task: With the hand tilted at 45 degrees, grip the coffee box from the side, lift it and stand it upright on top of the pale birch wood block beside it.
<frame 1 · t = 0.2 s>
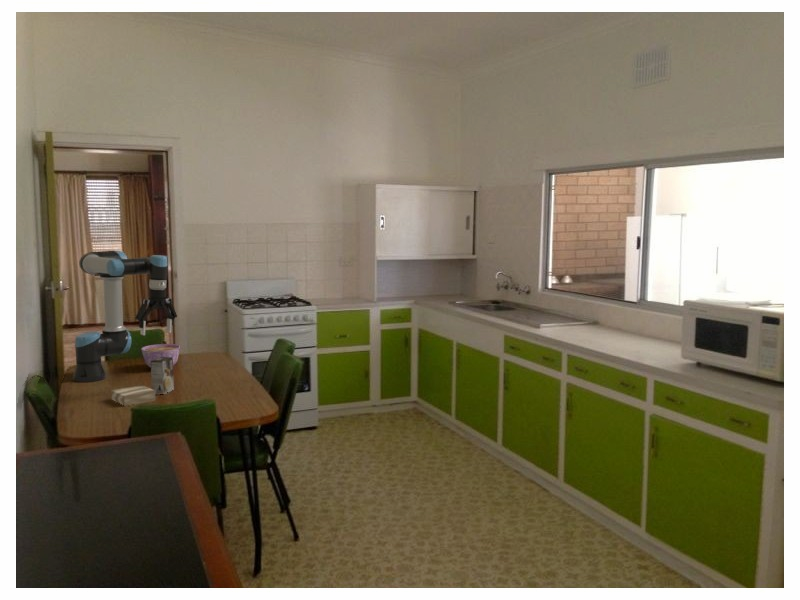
hand: (156, 333, 314), 28 cm above the table, tool pointing down, fingers open, 13 cm apart
bowl of food: (161, 368, 366), on the table
coffee box: (163, 392, 317), on the table
birch block: (133, 401, 303), on the table
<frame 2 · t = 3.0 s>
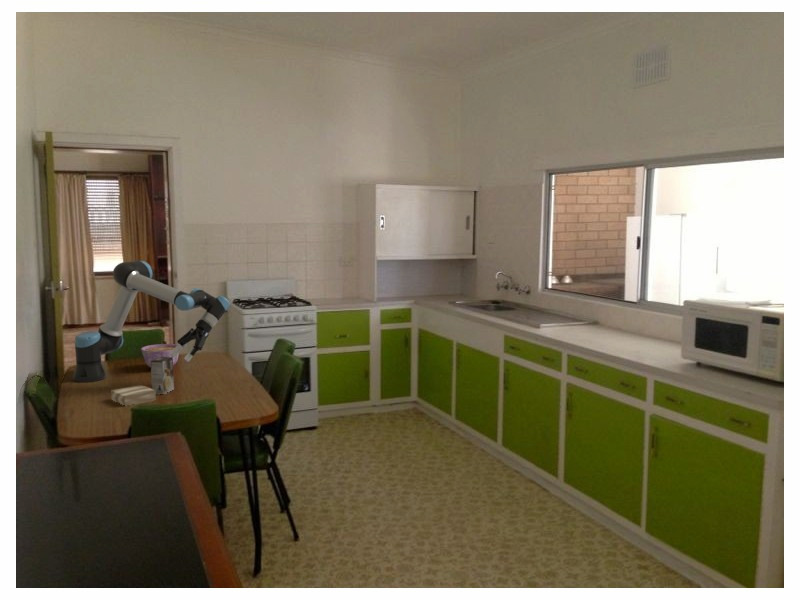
hand: (179, 358, 321), 15 cm above the table, tool tilted 45°, fingers open, 13 cm apart
nothing on the table moved.
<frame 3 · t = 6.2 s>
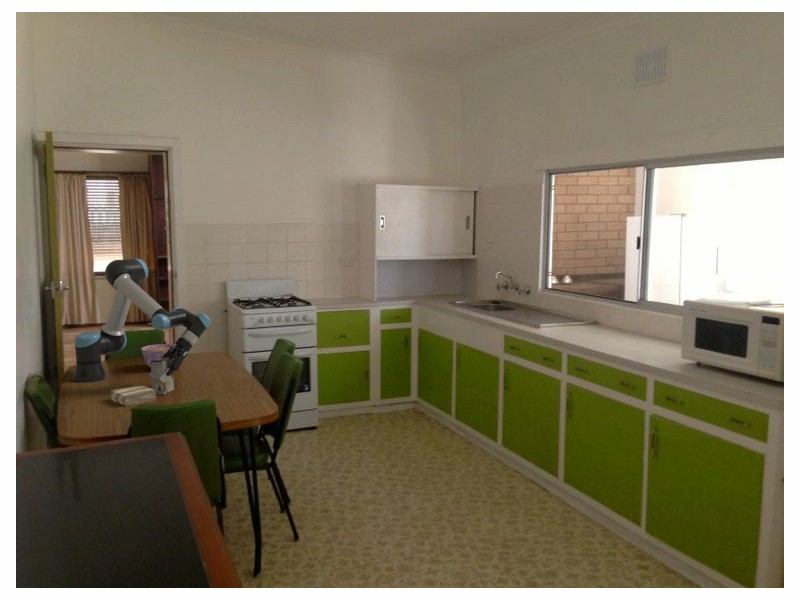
hand: (156, 378, 314), 7 cm above the table, tool tilted 45°, fingers closed on coffee box, 10 cm apart
coffee box: (163, 392, 317), on the table, touching gripper
everything else where it was.
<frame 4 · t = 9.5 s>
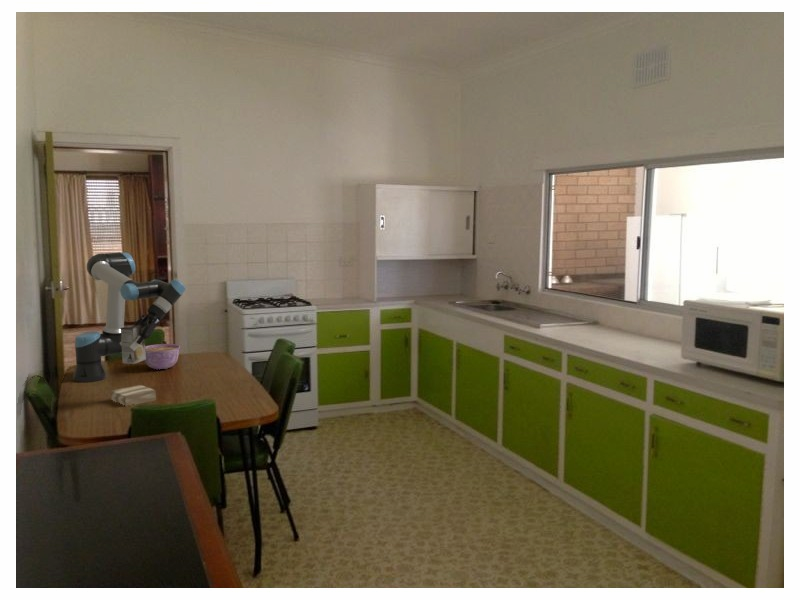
hand: (126, 347, 299), 25 cm above the table, tool tilted 45°, fingers closed on coffee box, 10 cm apart
coffee box: (134, 361, 302), point 18 cm above the table, touching gripper
everything else where it was.
when the fingers open (13 cm above the table, at t = 12.7 s): coffee box drops 2 cm, resting on birch block.
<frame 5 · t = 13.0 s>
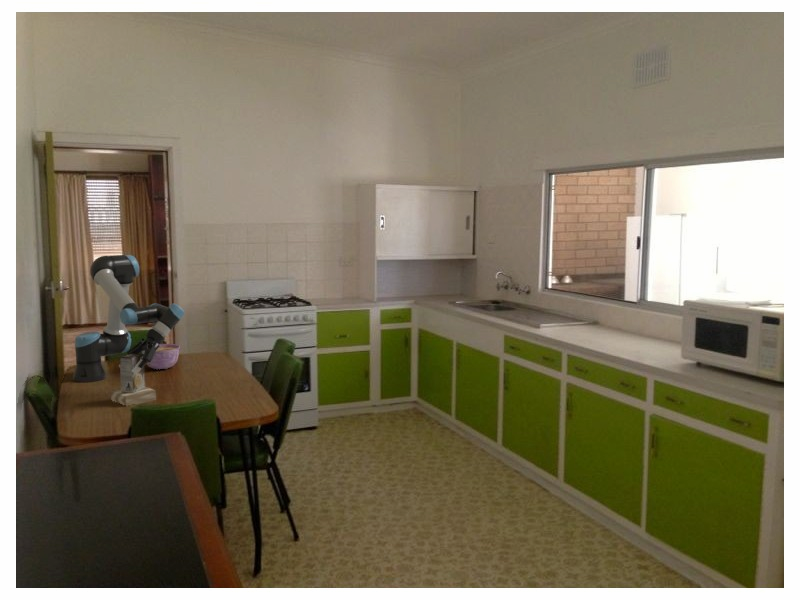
hand: (127, 370, 300), 14 cm above the table, tool tilted 45°, fingers open, 13 cm apart
coffee box: (133, 390, 303), point 4 cm above the table, touching birch block
birch block: (133, 401, 303), on the table, touching coffee box
everything else where it was.
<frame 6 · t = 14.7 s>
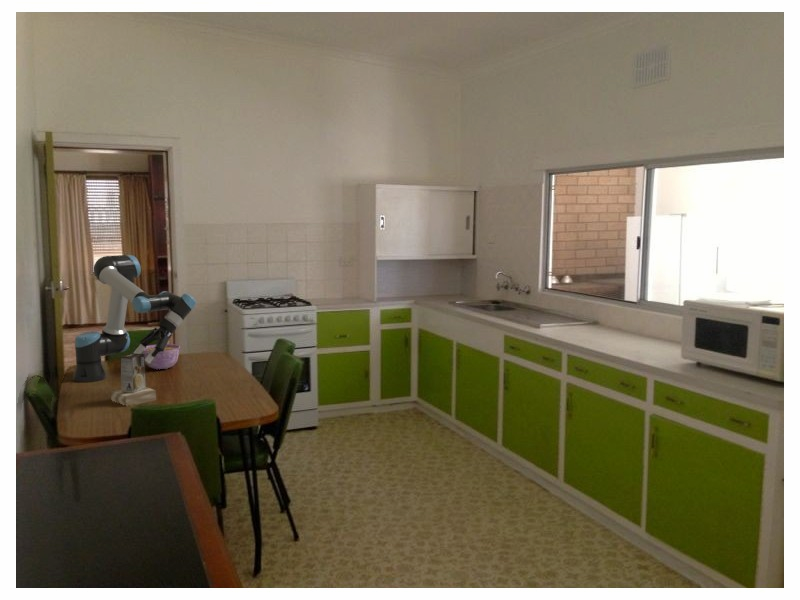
hand: (140, 359, 303), 18 cm above the table, tool tilted 45°, fingers open, 13 cm apart
coffee box: (133, 390, 303), point 4 cm above the table
birch block: (133, 401, 303), on the table
everything else where it was.
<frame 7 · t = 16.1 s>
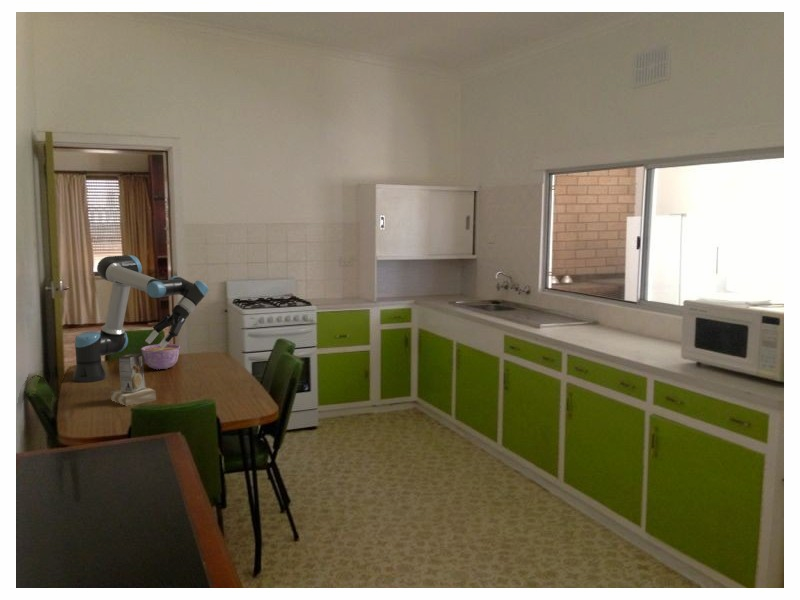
hand: (154, 344, 308), 24 cm above the table, tool tilted 45°, fingers open, 13 cm apart
coffee box: (133, 390, 303), point 4 cm above the table, touching birch block
birch block: (133, 401, 303), on the table, touching coffee box
everything else where it was.
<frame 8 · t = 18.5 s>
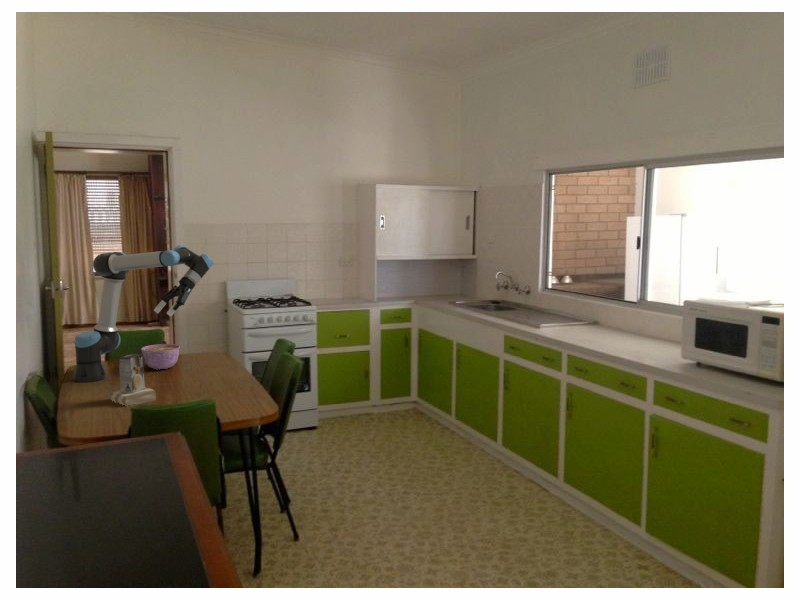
hand: (162, 313, 326), 36 cm above the table, tool tilted 45°, fingers open, 13 cm apart
nothing on the table moved.
at the end: coffee box inside the target area on the birch block (0.4 cm from its centre), point 4.9 cm above the birch block's base; coffee box tilted 1°; the gripper is holding nothing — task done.
